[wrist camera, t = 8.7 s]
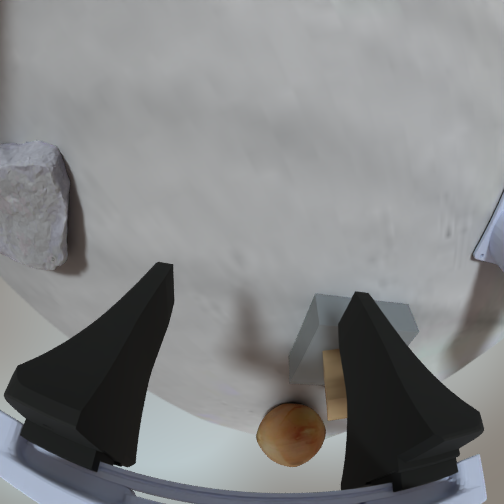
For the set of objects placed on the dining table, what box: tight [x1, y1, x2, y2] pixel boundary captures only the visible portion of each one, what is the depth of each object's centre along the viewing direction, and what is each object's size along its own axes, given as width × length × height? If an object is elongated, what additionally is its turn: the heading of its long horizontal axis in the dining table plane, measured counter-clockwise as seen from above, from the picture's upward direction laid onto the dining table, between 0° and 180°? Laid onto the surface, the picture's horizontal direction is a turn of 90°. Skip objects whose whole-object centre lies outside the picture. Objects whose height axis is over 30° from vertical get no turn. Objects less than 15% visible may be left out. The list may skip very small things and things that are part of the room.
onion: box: [256, 403, 326, 467], centre depth 36 cm, size 10×10×10 cm
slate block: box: [289, 294, 419, 385], centre depth 27 cm, size 10×10×4 cm
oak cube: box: [322, 349, 347, 421], centre depth 24 cm, size 5×5×5 cm
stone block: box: [0, 140, 70, 270], centre depth 20 cm, size 12×5×10 cm
